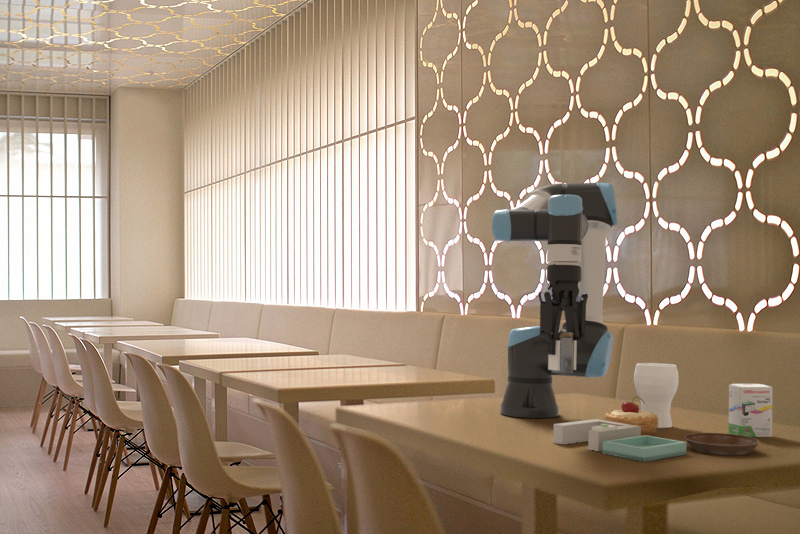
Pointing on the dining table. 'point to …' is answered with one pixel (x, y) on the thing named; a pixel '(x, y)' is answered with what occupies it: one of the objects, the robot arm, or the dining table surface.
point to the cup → (657, 389)
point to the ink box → (750, 410)
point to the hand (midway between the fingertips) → (562, 369)
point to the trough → (644, 448)
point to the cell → (565, 352)
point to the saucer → (721, 443)
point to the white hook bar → (593, 432)
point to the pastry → (634, 417)
